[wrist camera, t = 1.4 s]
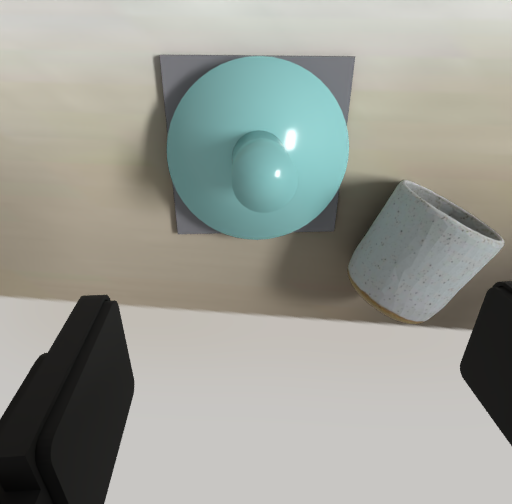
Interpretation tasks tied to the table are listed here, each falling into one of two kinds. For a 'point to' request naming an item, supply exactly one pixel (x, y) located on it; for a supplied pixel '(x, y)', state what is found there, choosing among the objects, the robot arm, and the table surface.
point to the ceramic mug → (419, 254)
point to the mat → (195, 66)
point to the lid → (257, 147)
